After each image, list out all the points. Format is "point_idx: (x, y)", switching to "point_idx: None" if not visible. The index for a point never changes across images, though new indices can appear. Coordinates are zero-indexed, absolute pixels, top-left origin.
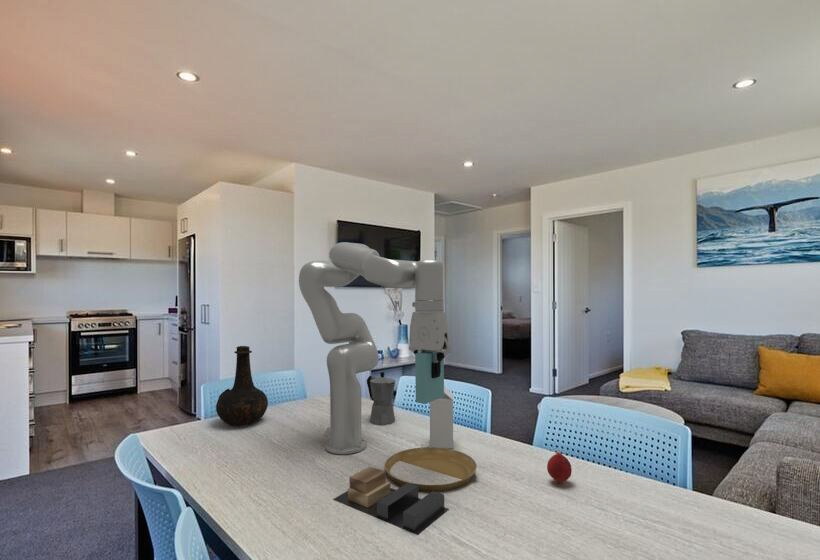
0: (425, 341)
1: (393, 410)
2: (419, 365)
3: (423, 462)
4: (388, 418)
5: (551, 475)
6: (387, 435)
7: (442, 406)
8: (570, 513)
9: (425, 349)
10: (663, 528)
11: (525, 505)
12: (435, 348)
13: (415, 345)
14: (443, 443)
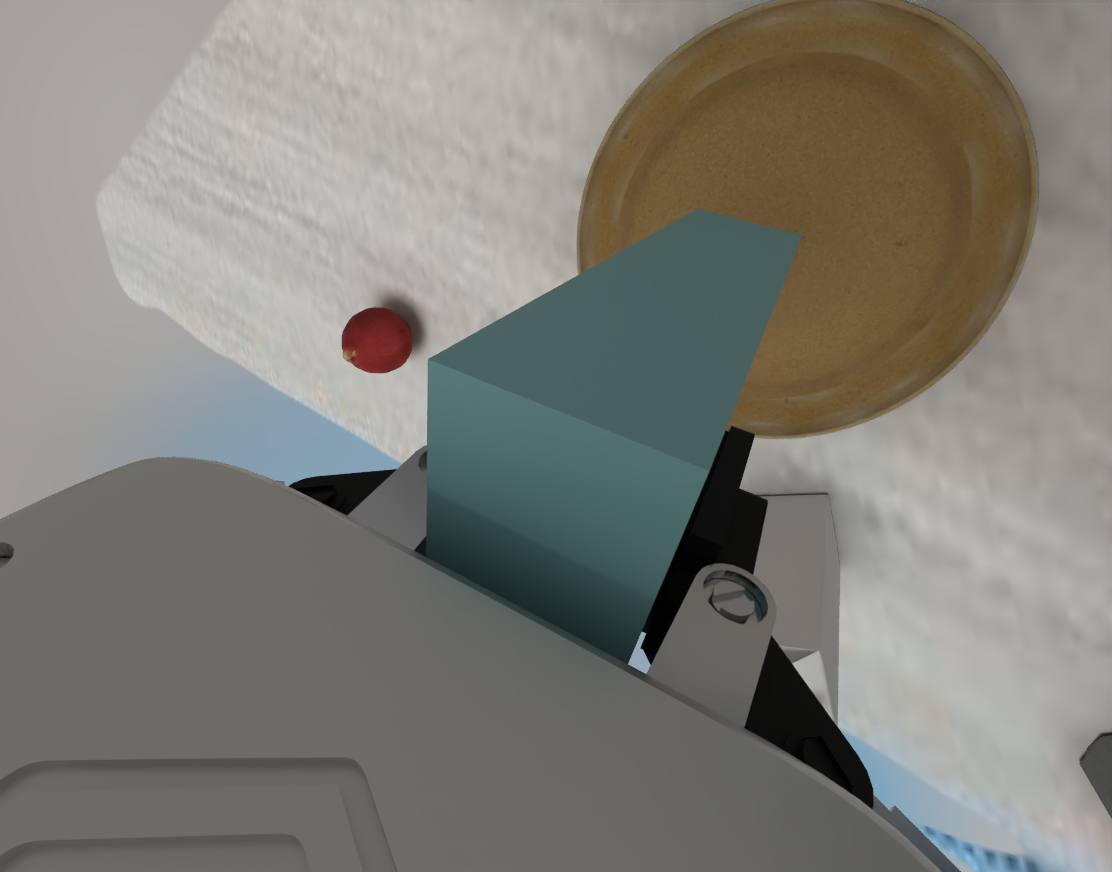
0: (269, 779)
1: (1109, 813)
2: (660, 325)
3: (825, 345)
4: None
5: (398, 316)
6: (1098, 613)
7: None
8: (342, 163)
9: (435, 569)
10: (216, 183)
11: (432, 154)
12: (186, 486)
13: (734, 844)
14: (767, 506)
